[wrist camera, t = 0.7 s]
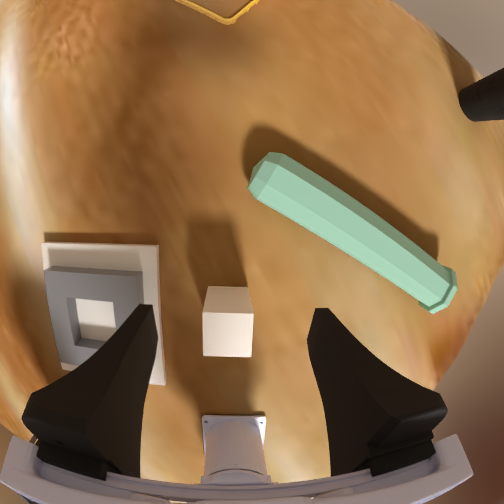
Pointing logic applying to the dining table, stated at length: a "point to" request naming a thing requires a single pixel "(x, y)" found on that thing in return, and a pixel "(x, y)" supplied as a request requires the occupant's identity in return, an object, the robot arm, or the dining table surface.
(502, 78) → the drinking cup
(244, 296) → the block
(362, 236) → the container
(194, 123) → the dining table surface
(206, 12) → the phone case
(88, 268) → the plate
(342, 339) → the robot arm
